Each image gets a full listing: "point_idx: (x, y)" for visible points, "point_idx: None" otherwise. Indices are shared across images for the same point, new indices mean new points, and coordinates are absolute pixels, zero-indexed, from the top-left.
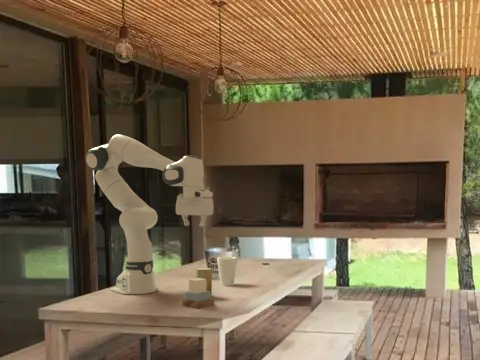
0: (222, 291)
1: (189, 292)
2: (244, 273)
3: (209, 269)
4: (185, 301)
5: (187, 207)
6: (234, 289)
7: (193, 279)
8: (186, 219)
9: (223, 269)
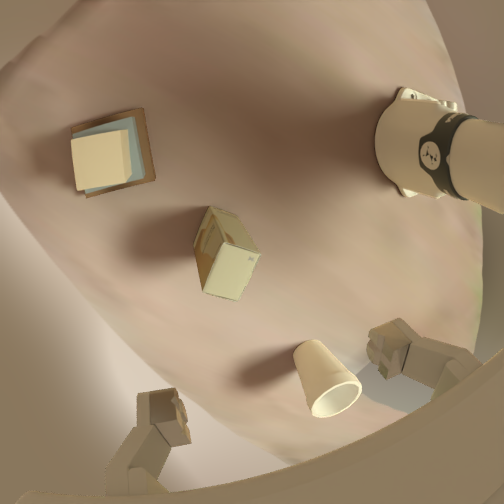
0: (245, 308)
1: (115, 124)
2: (363, 407)
3: (205, 284)
4: (127, 111)
5: (458, 495)
6: (245, 341)
7: (105, 145)
8: (422, 372)
9: (318, 368)
